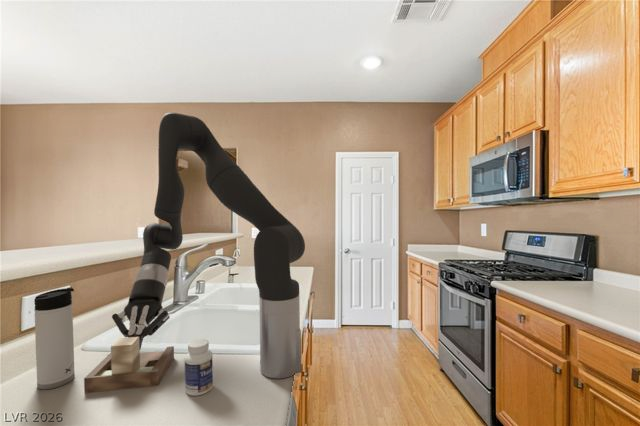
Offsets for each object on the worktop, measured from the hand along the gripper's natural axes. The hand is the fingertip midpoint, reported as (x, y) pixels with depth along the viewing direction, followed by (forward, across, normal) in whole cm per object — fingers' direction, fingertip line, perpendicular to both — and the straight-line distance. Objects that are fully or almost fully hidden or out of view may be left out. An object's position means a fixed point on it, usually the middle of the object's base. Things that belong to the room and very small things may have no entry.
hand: (131, 353), depth 70 cm
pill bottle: (+9, +16, -2) cm, 19 cm away
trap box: (+3, 0, +4) cm, 5 cm away
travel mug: (+3, -15, +4) cm, 16 cm away
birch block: (+4, 0, 0) cm, 4 cm away
